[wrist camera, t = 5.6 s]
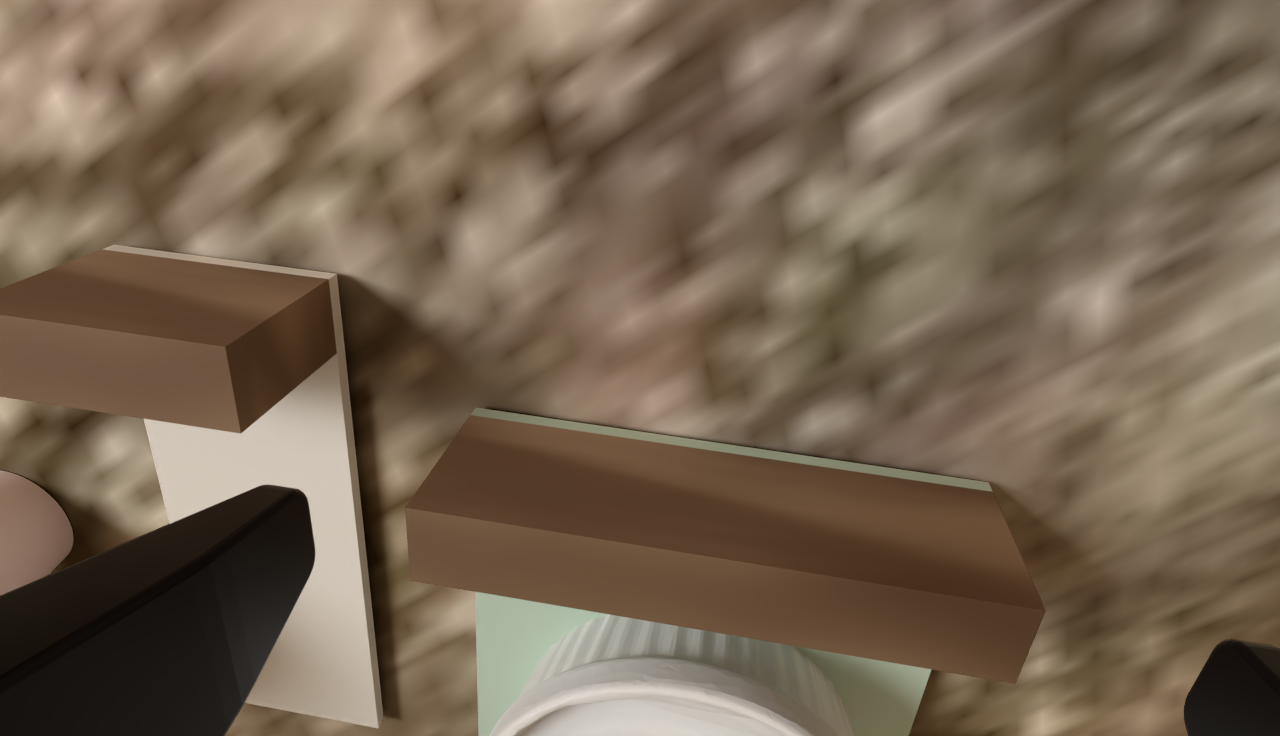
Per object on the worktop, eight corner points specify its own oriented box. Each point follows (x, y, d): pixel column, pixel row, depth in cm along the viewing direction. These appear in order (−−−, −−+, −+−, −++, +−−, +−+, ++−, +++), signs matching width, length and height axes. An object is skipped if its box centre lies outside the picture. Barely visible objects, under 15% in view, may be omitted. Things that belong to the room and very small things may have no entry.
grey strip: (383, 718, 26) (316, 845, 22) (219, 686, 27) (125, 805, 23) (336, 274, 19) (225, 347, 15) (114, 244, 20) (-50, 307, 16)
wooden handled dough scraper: (855, 873, 26) (871, 1028, 22) (484, 799, 27) (436, 933, 23) (988, 482, 19) (1045, 610, 15) (475, 407, 20) (405, 507, 16)
